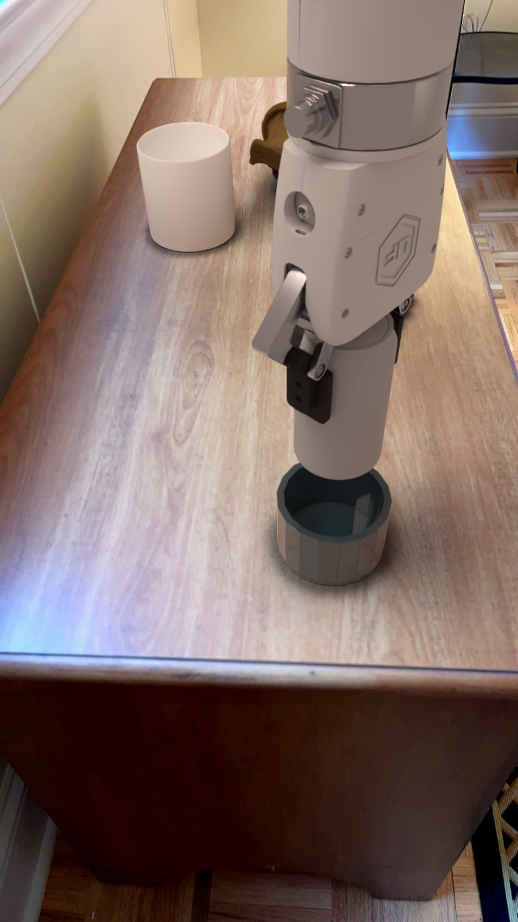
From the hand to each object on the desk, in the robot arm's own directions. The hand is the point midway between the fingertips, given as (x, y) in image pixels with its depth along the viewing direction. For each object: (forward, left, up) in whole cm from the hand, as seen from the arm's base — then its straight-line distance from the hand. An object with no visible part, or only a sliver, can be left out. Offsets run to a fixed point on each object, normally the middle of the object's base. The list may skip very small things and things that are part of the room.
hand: (343, 382), depth 46 cm
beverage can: (0, 0, -7) cm, 7 cm away
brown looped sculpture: (-2, -60, -18) cm, 63 cm away
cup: (+13, -53, -18) cm, 58 cm away
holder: (0, 0, -18) cm, 18 cm away
